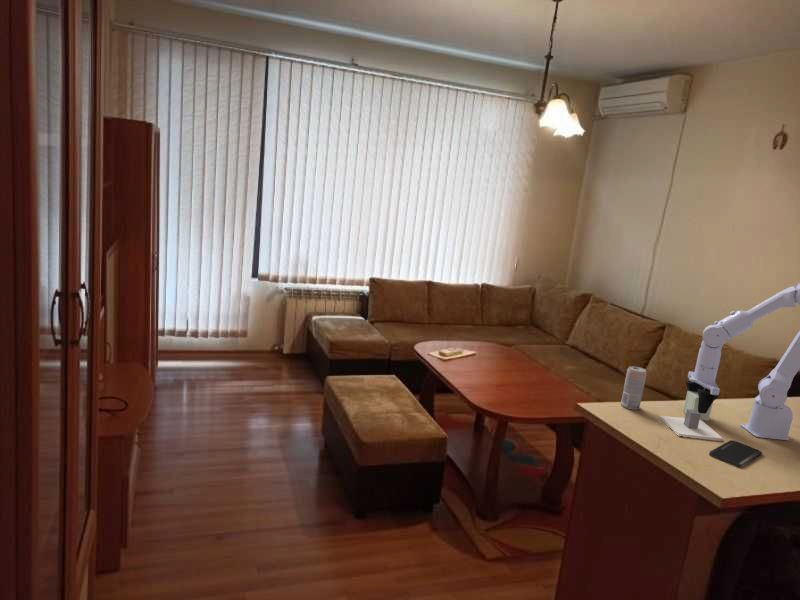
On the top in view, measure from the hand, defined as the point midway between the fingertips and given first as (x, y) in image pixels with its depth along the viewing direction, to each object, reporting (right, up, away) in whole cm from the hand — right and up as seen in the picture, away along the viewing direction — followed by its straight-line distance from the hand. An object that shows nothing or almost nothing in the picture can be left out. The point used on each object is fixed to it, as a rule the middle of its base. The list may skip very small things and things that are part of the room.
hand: (697, 408), depth 172 cm
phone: (-2, -8, -24) cm, 25 cm away
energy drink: (-19, 0, +2) cm, 19 cm away
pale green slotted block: (0, -2, 0) cm, 2 cm away
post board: (-7, -4, -10) cm, 13 cm away
